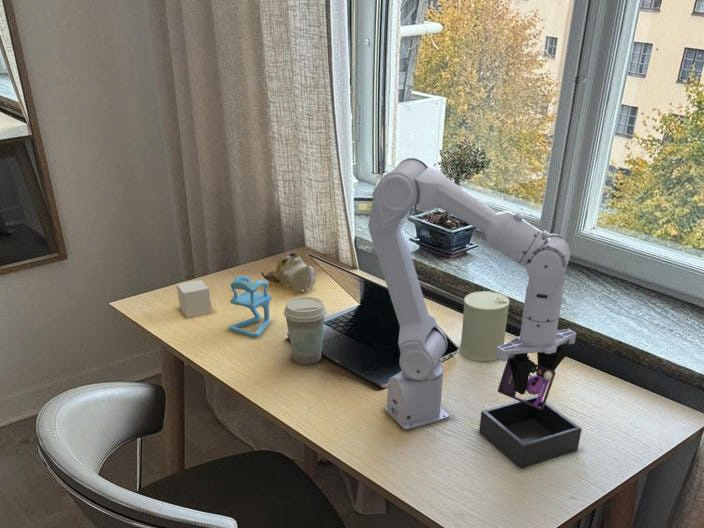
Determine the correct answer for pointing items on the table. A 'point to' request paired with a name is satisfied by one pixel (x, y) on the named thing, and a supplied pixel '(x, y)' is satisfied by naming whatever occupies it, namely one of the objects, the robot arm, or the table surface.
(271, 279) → the ceramic sculpture
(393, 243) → the robot arm
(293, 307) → the coffee cup
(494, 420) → the tub
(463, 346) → the can
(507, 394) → the purple toy package
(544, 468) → the table surface
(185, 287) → the grey cube
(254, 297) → the chair
